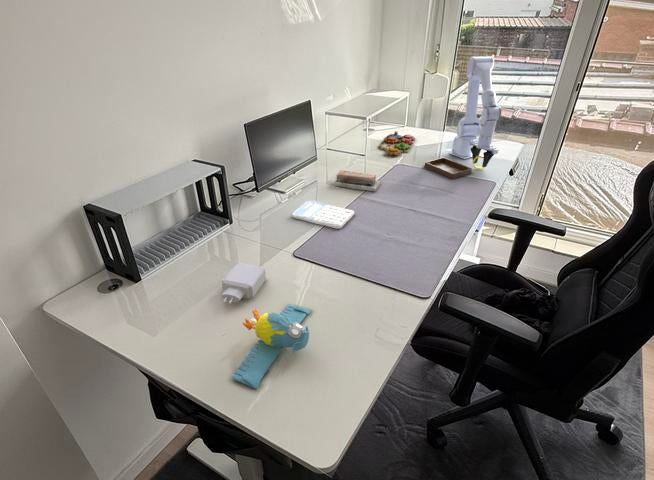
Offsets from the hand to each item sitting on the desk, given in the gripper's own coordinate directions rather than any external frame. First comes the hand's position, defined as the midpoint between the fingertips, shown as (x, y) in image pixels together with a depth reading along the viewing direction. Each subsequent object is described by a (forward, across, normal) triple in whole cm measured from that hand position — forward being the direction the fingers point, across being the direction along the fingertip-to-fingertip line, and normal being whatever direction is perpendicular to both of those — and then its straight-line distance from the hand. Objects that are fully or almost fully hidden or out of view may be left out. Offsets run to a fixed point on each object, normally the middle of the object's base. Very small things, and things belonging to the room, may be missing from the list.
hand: (479, 164), depth 193 cm
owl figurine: (+2, +49, -132) cm, 140 cm away
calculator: (+2, 0, -86) cm, 86 cm away
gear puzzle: (+2, -44, -12) cm, 46 cm away
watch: (+2, 0, 0) cm, 2 cm away
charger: (+2, +26, -131) cm, 134 cm away
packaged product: (+2, -16, -58) cm, 60 cm away
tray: (+2, -7, -13) cm, 15 cm away
